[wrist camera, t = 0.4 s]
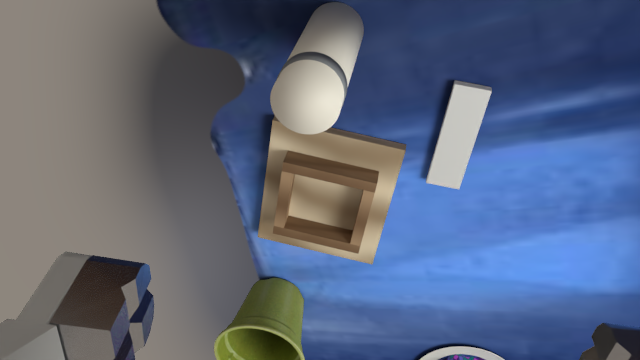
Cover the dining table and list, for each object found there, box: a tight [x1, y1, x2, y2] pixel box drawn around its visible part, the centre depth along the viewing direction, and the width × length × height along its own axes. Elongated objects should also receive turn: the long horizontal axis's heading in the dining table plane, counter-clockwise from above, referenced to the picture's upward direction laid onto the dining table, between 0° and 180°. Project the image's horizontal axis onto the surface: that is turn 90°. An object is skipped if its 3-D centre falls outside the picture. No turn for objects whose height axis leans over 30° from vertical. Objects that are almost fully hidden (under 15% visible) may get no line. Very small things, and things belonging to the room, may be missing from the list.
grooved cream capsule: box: [270, 2, 364, 135], centre depth 42 cm, size 5×5×13 cm
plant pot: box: [214, 278, 305, 360], centre depth 63 cm, size 9×9×9 cm
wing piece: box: [426, 80, 492, 189], centre depth 51 cm, size 10×3×1 cm, turn 173°
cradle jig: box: [258, 116, 406, 264], centre depth 56 cm, size 14×12×3 cm
